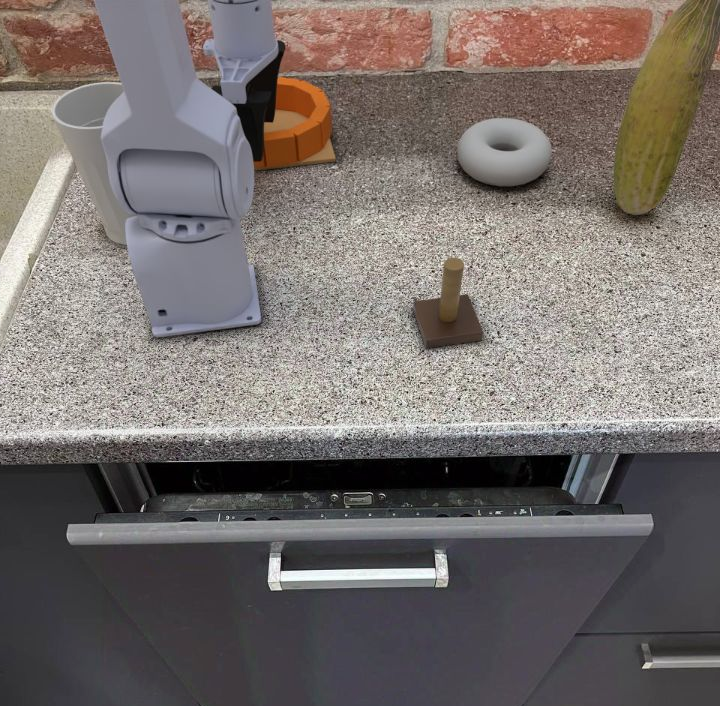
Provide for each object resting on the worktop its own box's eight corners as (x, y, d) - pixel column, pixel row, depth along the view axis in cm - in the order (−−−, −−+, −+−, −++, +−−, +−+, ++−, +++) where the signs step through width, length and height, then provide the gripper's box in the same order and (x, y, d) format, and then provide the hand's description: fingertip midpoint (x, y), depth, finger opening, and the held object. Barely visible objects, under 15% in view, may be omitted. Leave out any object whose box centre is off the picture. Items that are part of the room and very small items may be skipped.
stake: (425, 348, 59) (431, 287, 54) (412, 309, 62) (416, 248, 56) (482, 340, 59) (493, 279, 54) (466, 302, 62) (475, 240, 57)
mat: (217, 174, 74) (216, 171, 74) (210, 114, 82) (210, 110, 81) (335, 161, 76) (335, 158, 75) (318, 102, 83) (318, 99, 82)
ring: (342, 155, 75) (342, 128, 73) (219, 175, 74) (214, 148, 71) (315, 96, 83) (313, 69, 80) (202, 112, 81) (197, 86, 79)
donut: (450, 189, 73) (546, 197, 71) (452, 157, 70) (553, 165, 68) (461, 139, 78) (550, 145, 77) (464, 108, 75) (557, 114, 74)
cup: (80, 236, 68) (31, 115, 59) (130, 194, 72) (93, 74, 63) (144, 259, 66) (104, 137, 56) (192, 215, 70) (163, 93, 60)
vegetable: (613, 233, 68) (690, 0, 51) (584, 197, 71) (647, -31, 55) (668, 221, 69) (761, -10, 52) (636, 187, 72) (714, -41, 56)
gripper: (211, -41, 66) (234, 103, 77) (175, 25, 58) (206, 176, 69) (283, -40, 65) (296, 105, 77) (258, 27, 57) (276, 179, 68)
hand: (258, 139), depth 73 cm, fingers open, 7 cm apart
